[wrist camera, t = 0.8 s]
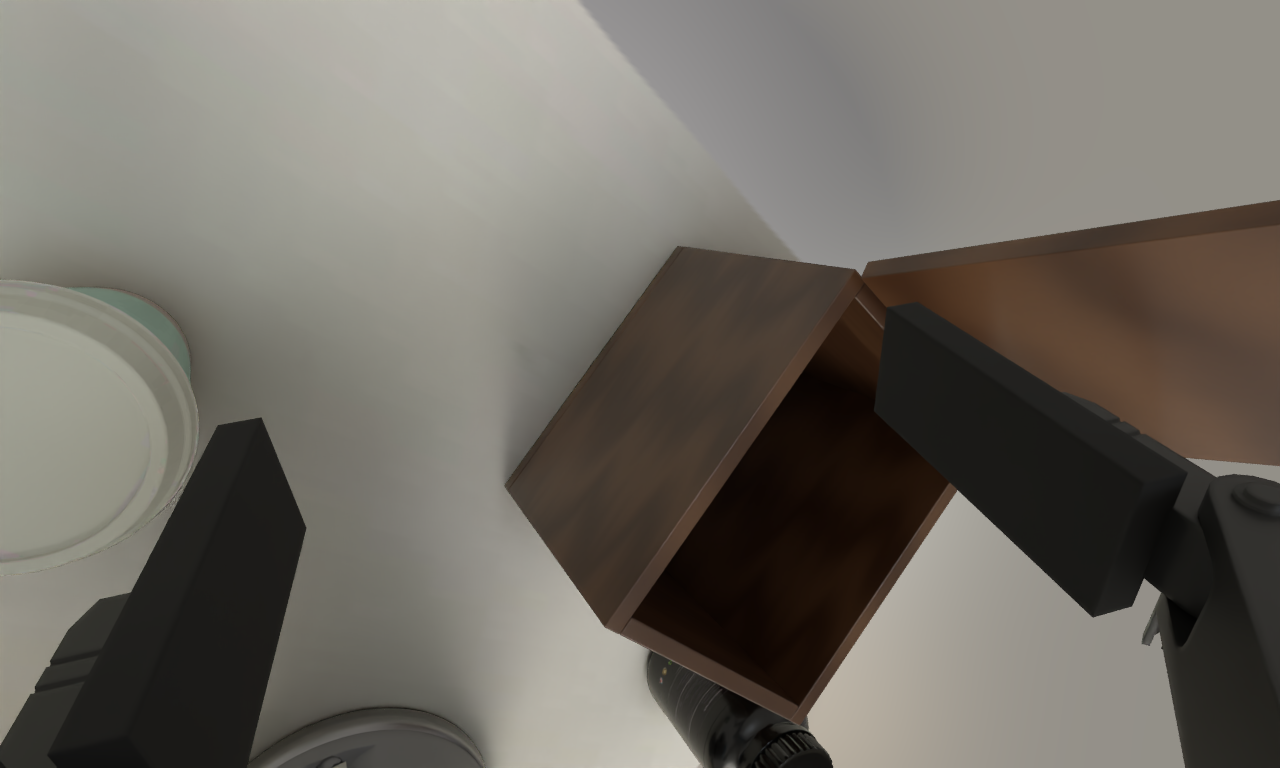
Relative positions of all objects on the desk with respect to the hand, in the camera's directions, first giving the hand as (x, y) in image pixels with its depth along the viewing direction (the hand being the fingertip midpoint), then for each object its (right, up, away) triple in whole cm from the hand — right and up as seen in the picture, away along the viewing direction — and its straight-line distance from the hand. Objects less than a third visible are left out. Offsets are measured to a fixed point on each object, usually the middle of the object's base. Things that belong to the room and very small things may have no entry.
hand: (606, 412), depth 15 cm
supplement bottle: (+4, -18, +32) cm, 37 cm away
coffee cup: (-22, +2, +14) cm, 26 cm away
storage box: (+2, -2, +27) cm, 27 cm away
